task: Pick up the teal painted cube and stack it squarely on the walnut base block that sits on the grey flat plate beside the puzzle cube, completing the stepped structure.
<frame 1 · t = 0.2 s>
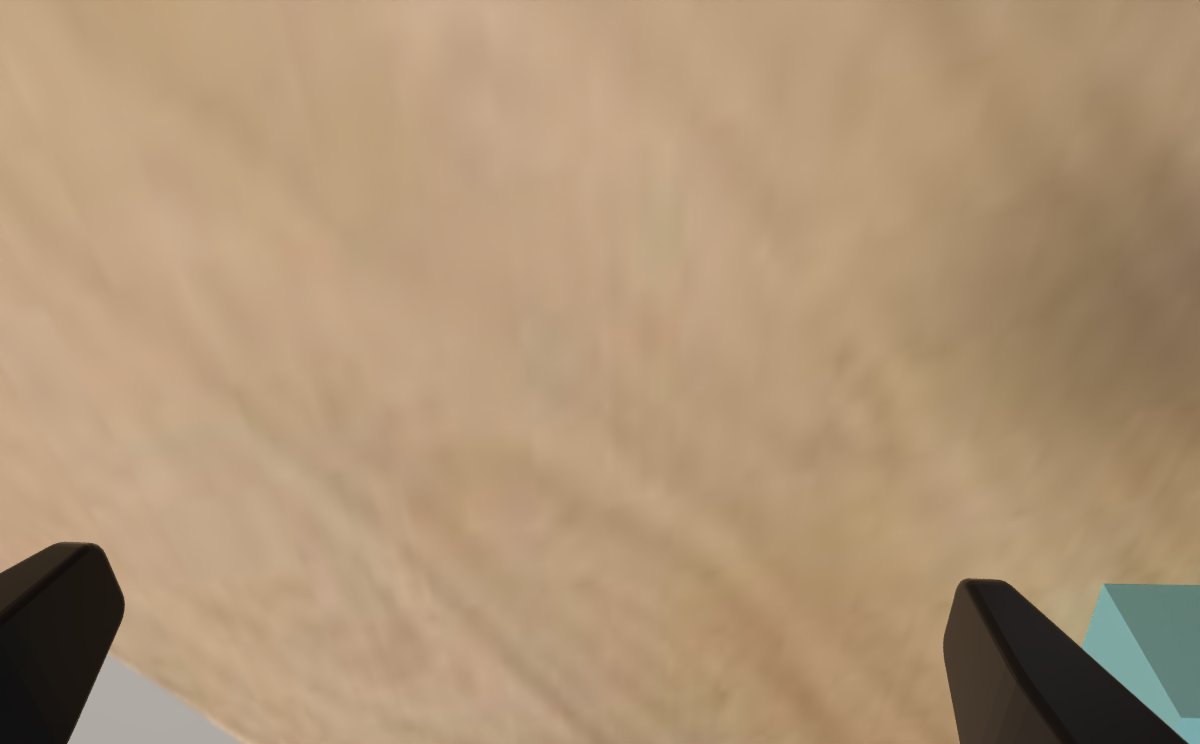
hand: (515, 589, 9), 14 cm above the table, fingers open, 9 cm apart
teal block: (1163, 638, 28), on the table
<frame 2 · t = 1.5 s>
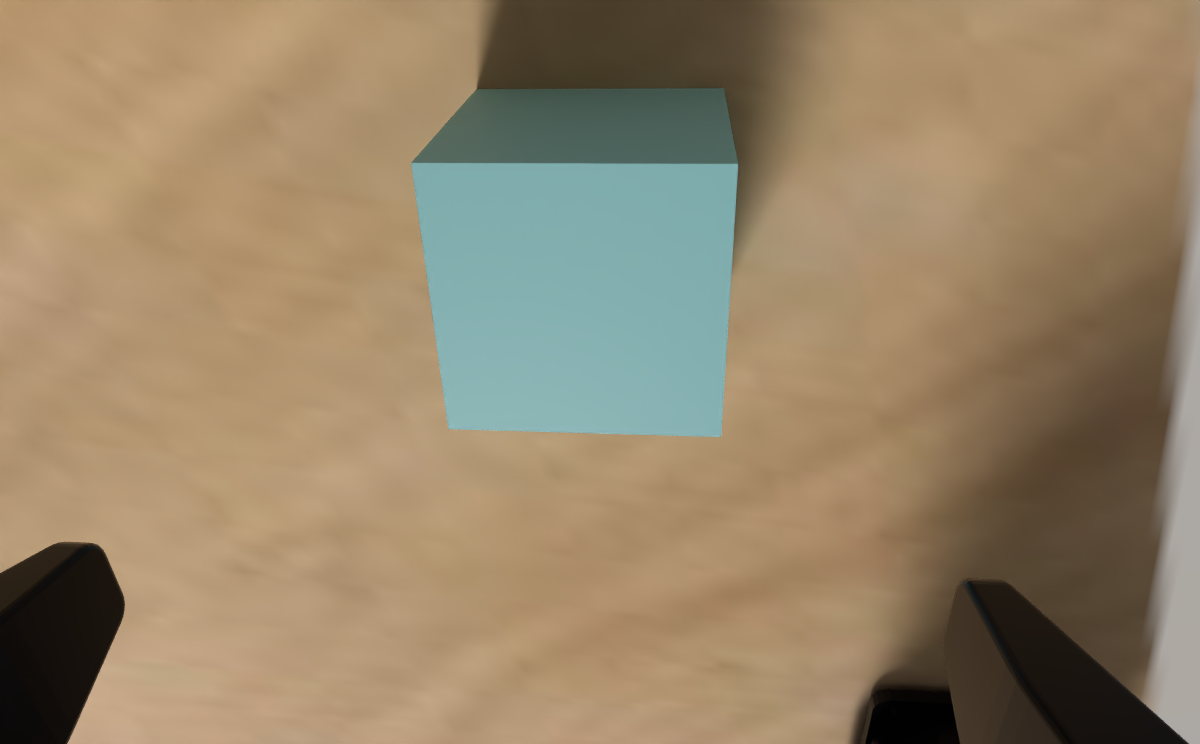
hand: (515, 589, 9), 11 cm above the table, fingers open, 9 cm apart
teal block: (601, 206, 18), on the table
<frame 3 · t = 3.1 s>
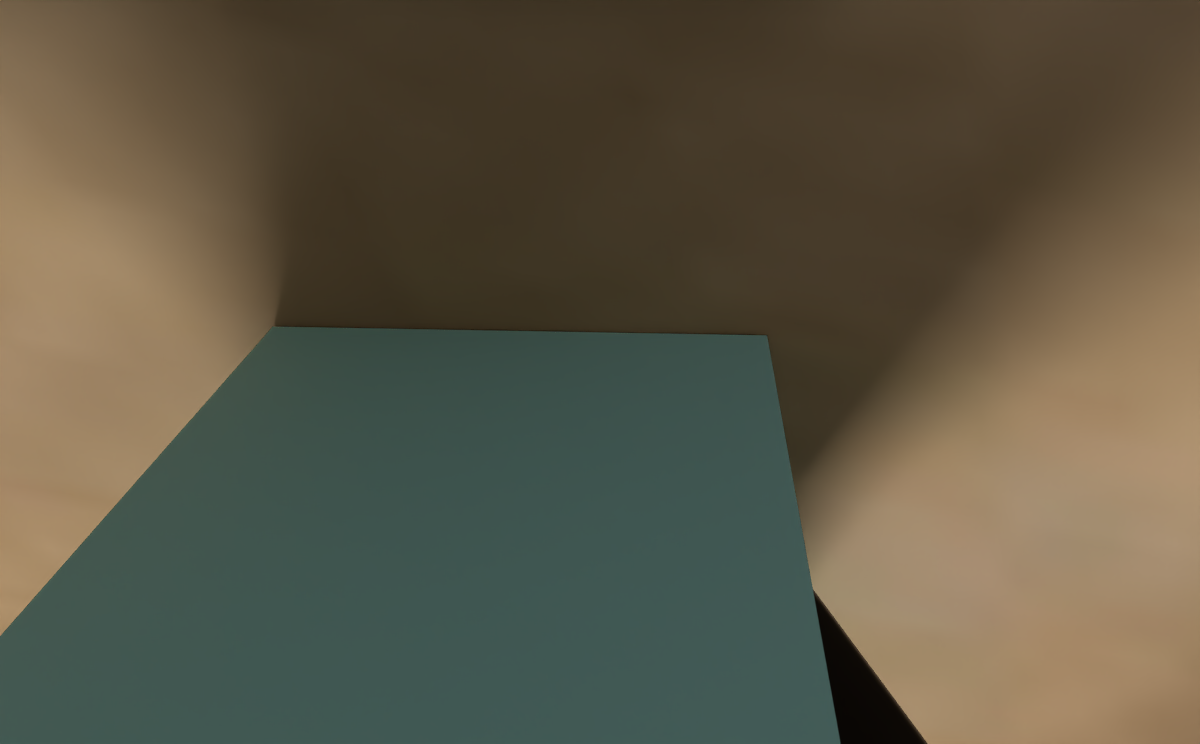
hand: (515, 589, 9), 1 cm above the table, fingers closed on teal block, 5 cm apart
teal block: (530, 522, 10), on the table, touching gripper
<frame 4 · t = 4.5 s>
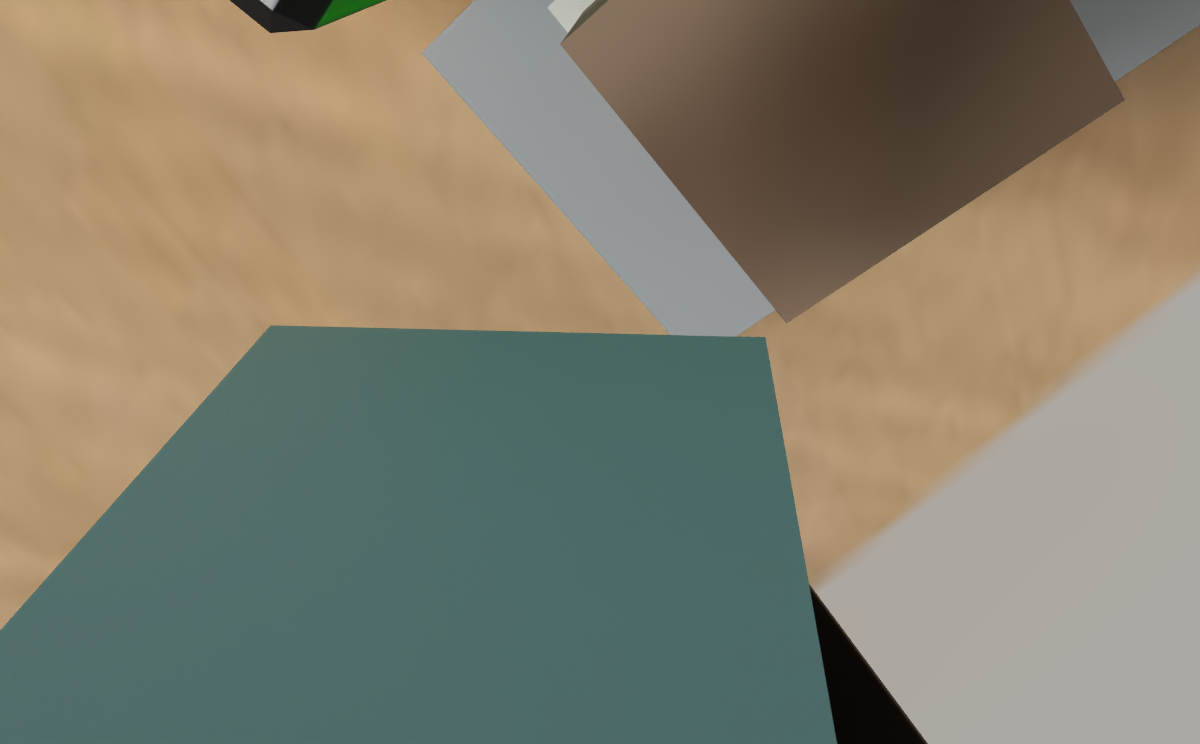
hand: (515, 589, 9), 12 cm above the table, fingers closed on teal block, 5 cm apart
grey flat plate: (800, 27, 17), on the table
teal block: (527, 522, 10), point 11 cm above the table, touching gripper
walnut base: (804, 32, 16), point 1 cm above the table, touching grey flat plate
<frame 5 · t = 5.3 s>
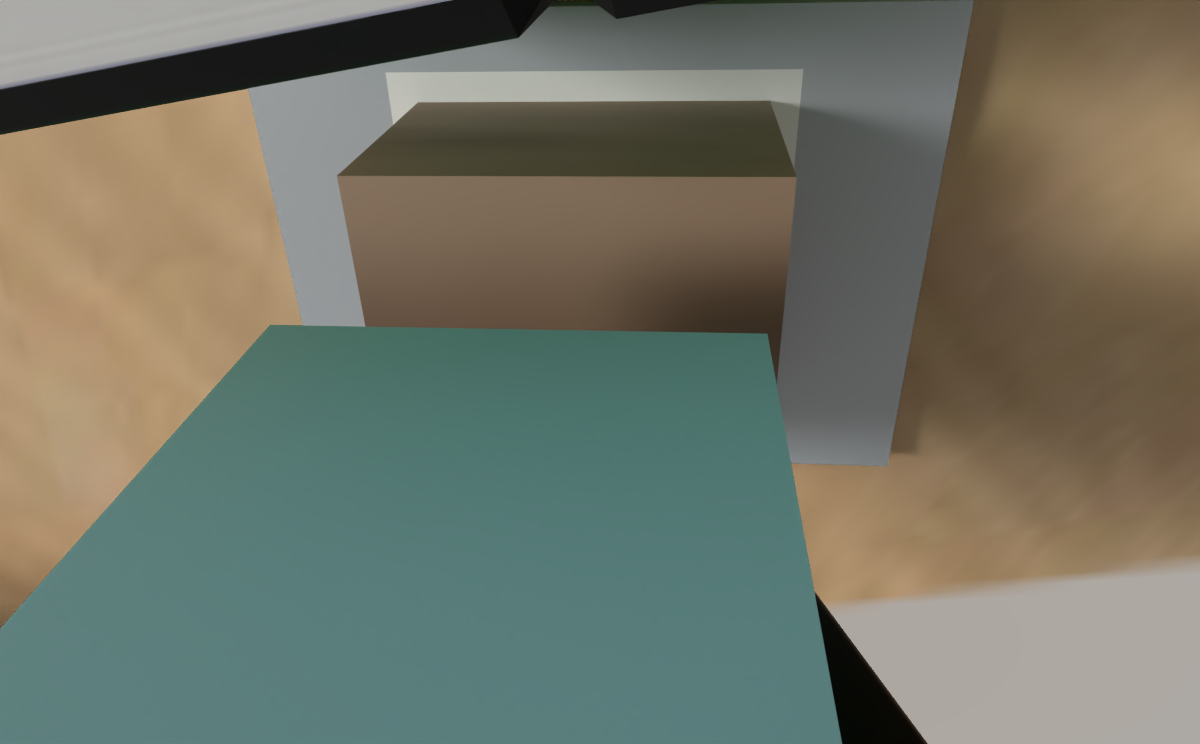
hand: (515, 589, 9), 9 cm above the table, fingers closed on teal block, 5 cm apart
grey flat plate: (598, 251, 16), on the table
teal block: (529, 522, 10), point 8 cm above the table, touching gripper
walnut base: (595, 264, 16), point 1 cm above the table, touching grey flat plate
when the fingers open (7 cm above the table, at t = 6.0 s): teal block stays where it is, resting on walnut base.
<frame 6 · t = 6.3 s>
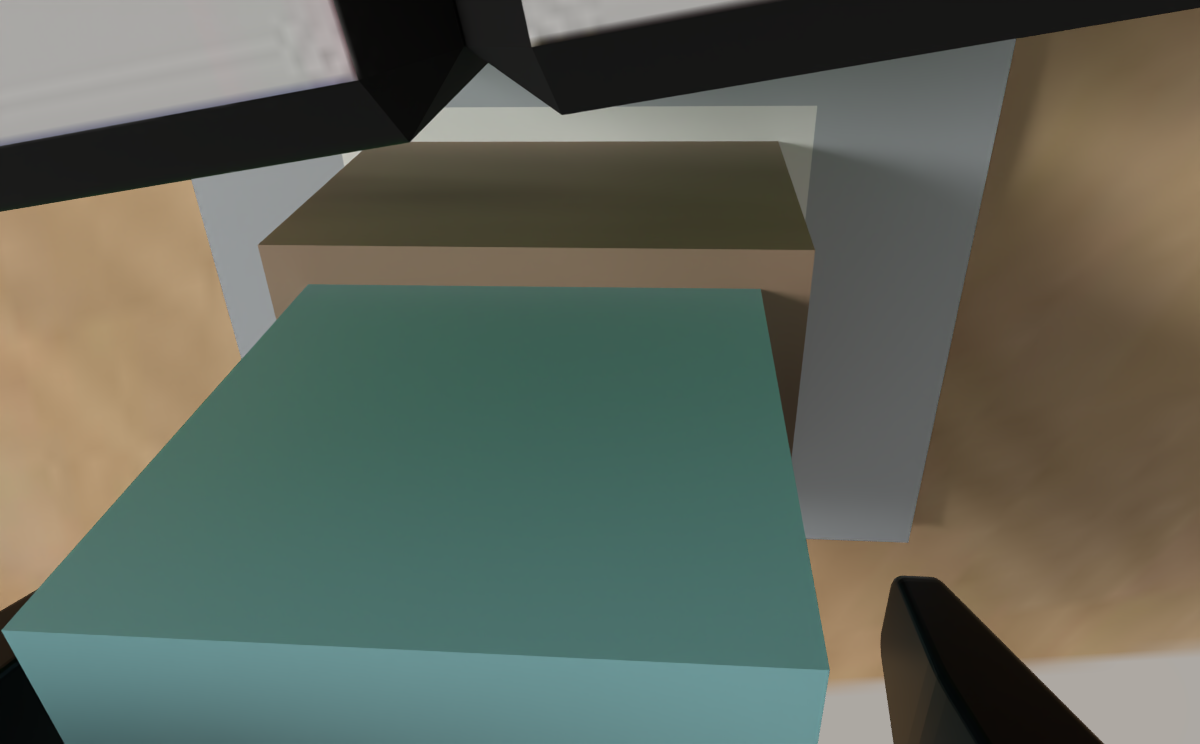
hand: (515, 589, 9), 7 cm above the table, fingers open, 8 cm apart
grey flat plate: (582, 306, 14), on the table
teal block: (543, 469, 11), point 5 cm above the table, touching walnut base
walnut base: (578, 322, 14), point 1 cm above the table, touching grey flat plate, teal block
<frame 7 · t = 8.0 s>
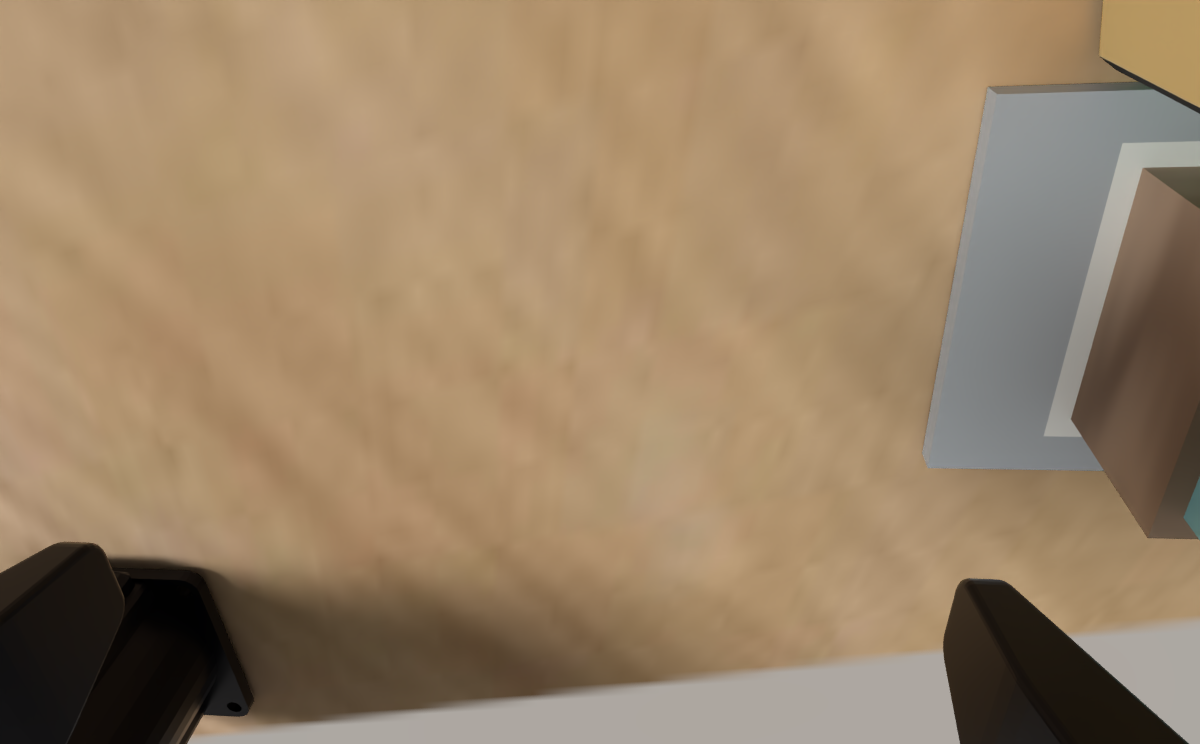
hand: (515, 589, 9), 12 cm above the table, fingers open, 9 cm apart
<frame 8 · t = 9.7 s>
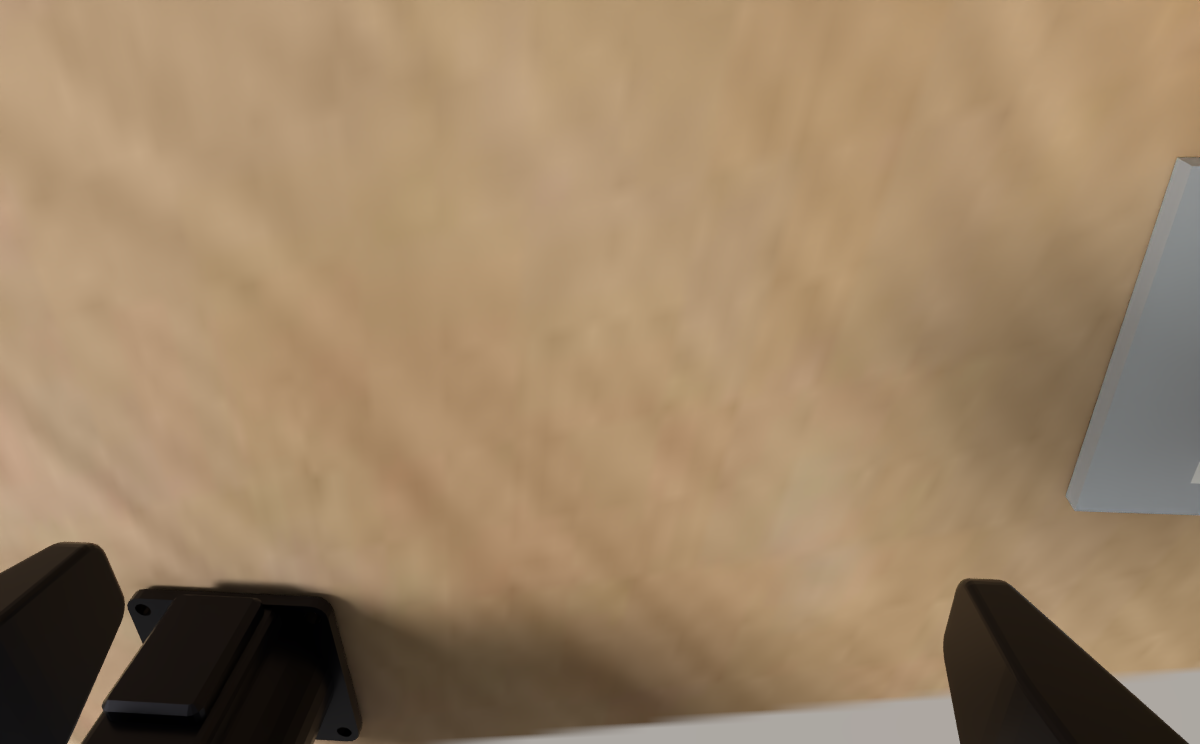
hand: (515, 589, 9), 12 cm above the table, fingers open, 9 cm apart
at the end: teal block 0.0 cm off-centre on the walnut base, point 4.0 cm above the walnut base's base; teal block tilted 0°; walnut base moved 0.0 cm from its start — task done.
